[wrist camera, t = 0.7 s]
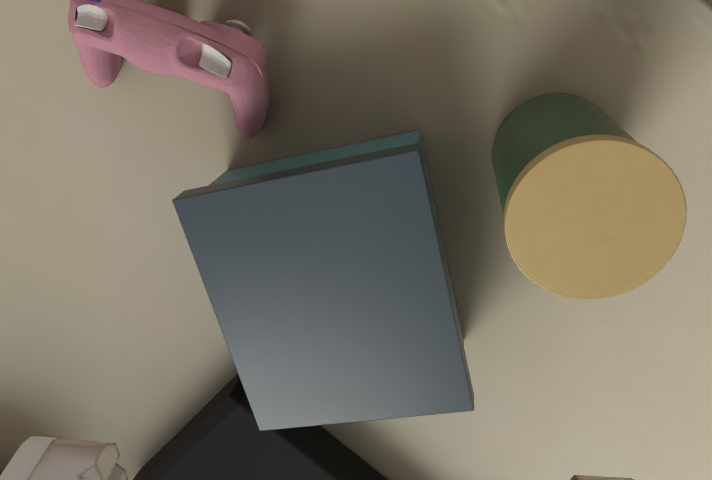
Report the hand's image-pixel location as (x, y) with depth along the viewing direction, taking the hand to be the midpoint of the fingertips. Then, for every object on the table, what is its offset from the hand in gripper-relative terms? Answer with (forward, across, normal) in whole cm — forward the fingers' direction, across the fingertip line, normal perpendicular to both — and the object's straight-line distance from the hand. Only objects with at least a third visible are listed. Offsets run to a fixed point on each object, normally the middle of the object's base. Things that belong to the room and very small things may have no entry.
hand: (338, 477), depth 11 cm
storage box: (+22, +2, +10) cm, 24 cm away
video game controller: (+24, +10, 0) cm, 26 cm away
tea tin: (+22, -9, +3) cm, 24 cm away
